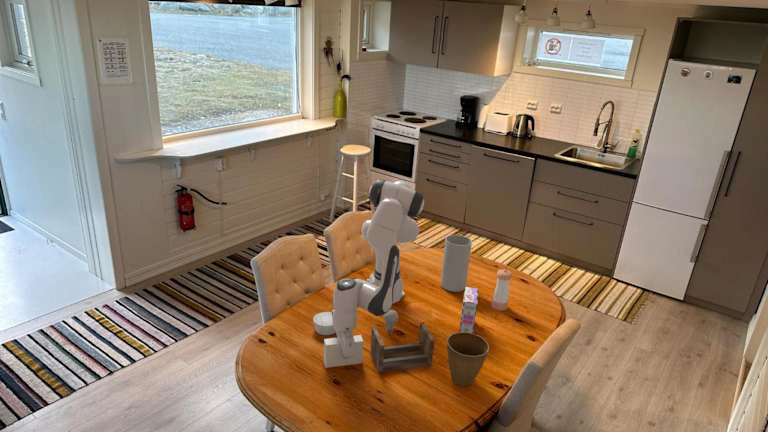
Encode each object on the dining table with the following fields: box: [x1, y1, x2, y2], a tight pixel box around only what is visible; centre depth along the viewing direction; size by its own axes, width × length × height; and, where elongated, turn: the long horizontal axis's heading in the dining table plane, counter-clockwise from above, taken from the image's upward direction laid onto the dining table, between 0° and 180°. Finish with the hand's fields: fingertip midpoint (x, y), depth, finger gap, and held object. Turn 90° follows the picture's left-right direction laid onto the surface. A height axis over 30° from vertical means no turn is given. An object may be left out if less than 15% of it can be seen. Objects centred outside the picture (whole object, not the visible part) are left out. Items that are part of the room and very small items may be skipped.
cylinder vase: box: [440, 234, 473, 293], centre depth 260 cm, size 12×12×25 cm
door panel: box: [323, 334, 364, 369], centre depth 200 cm, size 4×14×10 cm, turn 106°
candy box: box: [458, 286, 479, 334], centre depth 227 cm, size 14×6×16 cm, turn 168°
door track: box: [369, 321, 436, 374], centre depth 203 cm, size 12×21×12 cm, turn 106°
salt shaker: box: [491, 268, 513, 311], centre depth 245 cm, size 7×7×19 cm
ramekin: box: [312, 311, 336, 336], centre depth 221 cm, size 11×11×5 cm
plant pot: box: [446, 332, 490, 387], centre depth 194 cm, size 15×15×16 cm
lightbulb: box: [383, 309, 399, 335], centre depth 220 cm, size 6×6×11 cm
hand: (343, 353), depth 201 cm, fingers open, 5 cm apart
